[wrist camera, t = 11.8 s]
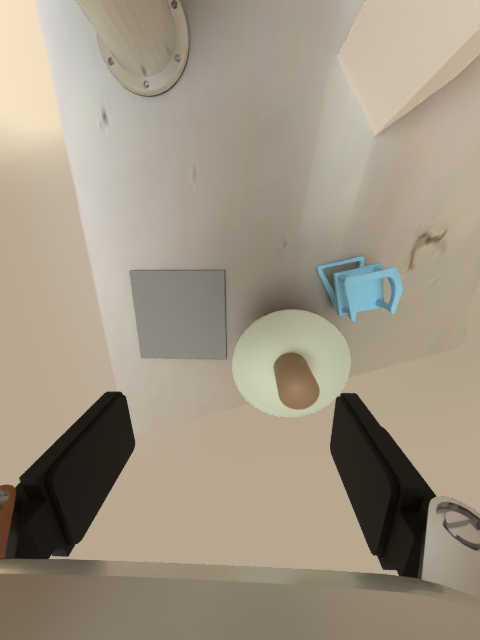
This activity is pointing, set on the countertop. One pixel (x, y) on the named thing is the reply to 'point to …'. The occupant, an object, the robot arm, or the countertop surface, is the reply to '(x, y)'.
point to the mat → (180, 313)
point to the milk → (407, 53)
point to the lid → (291, 363)
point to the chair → (361, 287)
